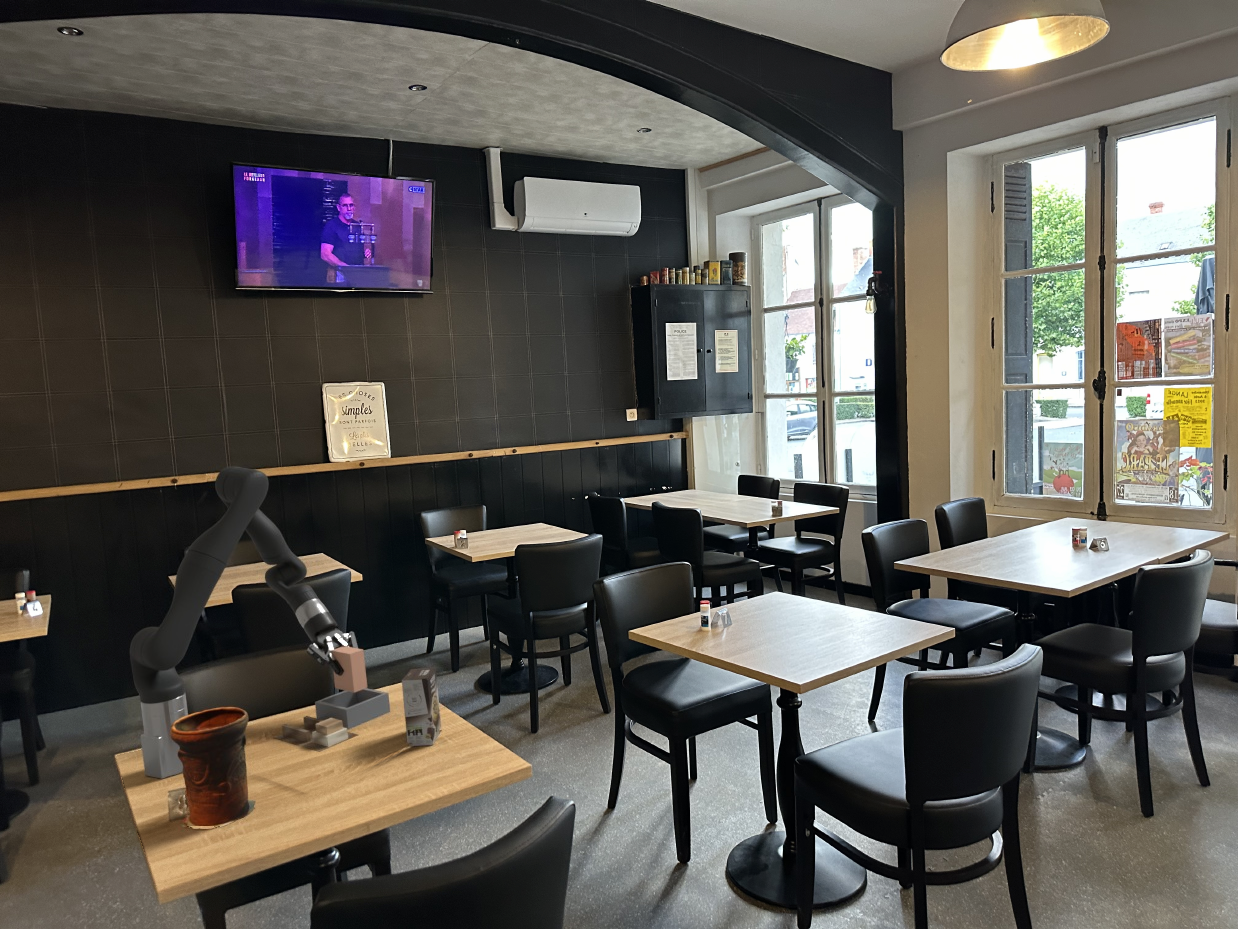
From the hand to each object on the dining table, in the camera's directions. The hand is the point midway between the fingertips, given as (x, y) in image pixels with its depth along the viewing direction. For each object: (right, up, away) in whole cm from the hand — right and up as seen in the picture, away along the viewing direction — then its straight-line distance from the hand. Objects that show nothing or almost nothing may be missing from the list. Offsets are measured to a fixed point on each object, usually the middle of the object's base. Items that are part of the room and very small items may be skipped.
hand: (349, 670), depth 223 cm
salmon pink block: (0, -4, 0) cm, 5 cm away
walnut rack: (-5, -14, -11) cm, 19 cm away
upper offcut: (0, -11, -15) cm, 18 cm away
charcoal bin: (+1, -13, +1) cm, 13 cm away
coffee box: (+23, -13, -15) cm, 30 cm away
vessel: (-12, -18, -47) cm, 51 cm away
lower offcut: (0, -13, -15) cm, 20 cm away
